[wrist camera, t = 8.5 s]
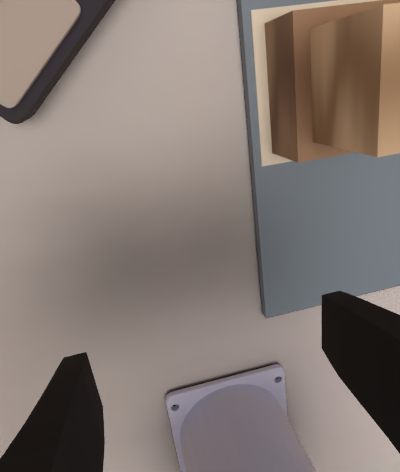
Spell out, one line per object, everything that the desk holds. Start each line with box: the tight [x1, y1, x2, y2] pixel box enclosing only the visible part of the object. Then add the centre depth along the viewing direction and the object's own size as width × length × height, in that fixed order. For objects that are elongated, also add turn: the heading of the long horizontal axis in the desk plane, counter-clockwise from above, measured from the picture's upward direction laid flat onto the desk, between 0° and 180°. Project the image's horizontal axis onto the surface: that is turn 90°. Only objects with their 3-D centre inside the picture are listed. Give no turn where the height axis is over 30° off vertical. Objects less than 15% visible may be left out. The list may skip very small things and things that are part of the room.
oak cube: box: [310, 3, 400, 157], centre depth 14 cm, size 4×4×4 cm
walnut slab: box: [264, 0, 400, 163], centre depth 18 cm, size 6×6×3 cm
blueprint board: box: [237, 0, 400, 318], centre depth 22 cm, size 18×15×1 cm
